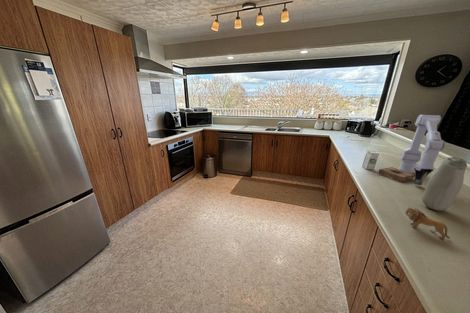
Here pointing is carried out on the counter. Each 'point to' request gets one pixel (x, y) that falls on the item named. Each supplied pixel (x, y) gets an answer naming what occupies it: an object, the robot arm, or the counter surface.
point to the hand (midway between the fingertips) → (419, 179)
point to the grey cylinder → (420, 182)
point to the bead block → (396, 174)
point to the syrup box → (370, 160)
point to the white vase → (445, 184)
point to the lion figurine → (426, 221)
